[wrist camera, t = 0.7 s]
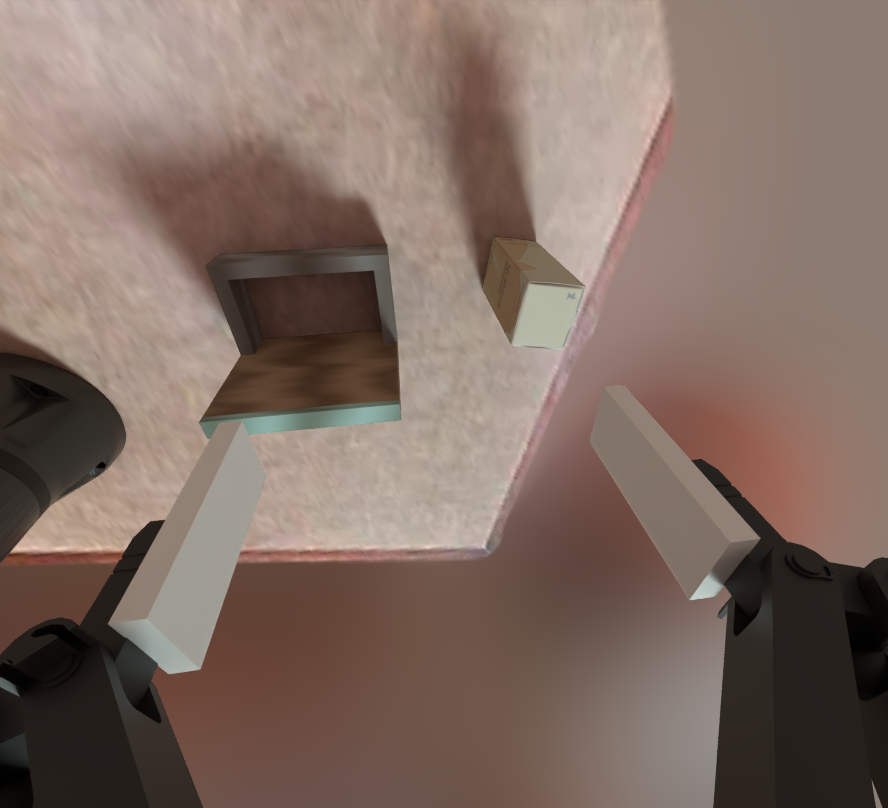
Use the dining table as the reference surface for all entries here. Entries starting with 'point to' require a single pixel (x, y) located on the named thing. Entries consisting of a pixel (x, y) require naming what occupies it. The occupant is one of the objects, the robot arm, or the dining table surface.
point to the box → (531, 294)
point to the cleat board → (305, 351)
